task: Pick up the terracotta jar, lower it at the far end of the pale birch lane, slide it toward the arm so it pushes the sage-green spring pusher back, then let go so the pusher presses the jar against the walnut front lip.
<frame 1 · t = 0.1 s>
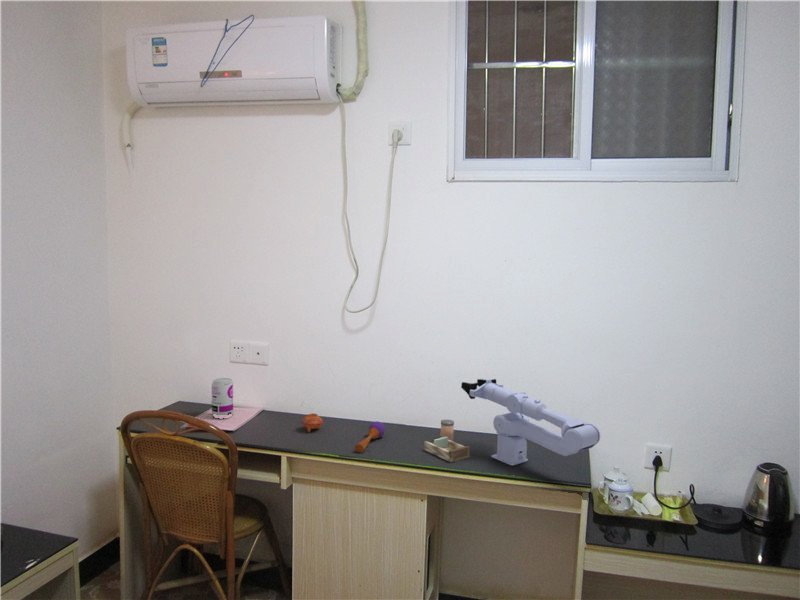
hand: (470, 383, 208), 22 cm above the table, tool horizontal, fingers open, 7 cm apart
jar: (446, 440, 212), on the table
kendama: (369, 444, 208), on the table
supplement can: (222, 417, 234), on the table
lane: (450, 455, 197), on the table
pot: (312, 430, 221), on the table
pusher: (440, 443, 201), point 3 cm above the table, slide at 0.0 cm
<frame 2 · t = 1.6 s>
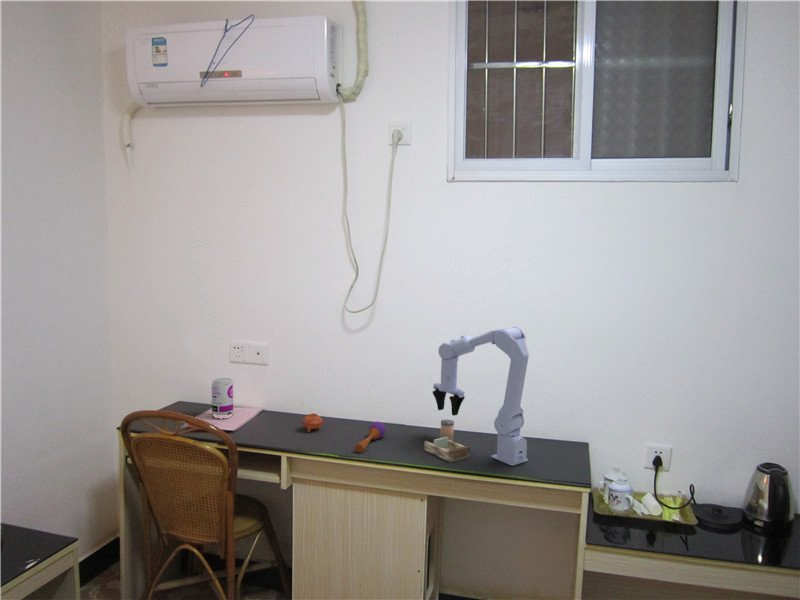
hand: (447, 412, 211), 10 cm above the table, tool pointing down, fingers open, 7 cm apart
nothing on the table moved.
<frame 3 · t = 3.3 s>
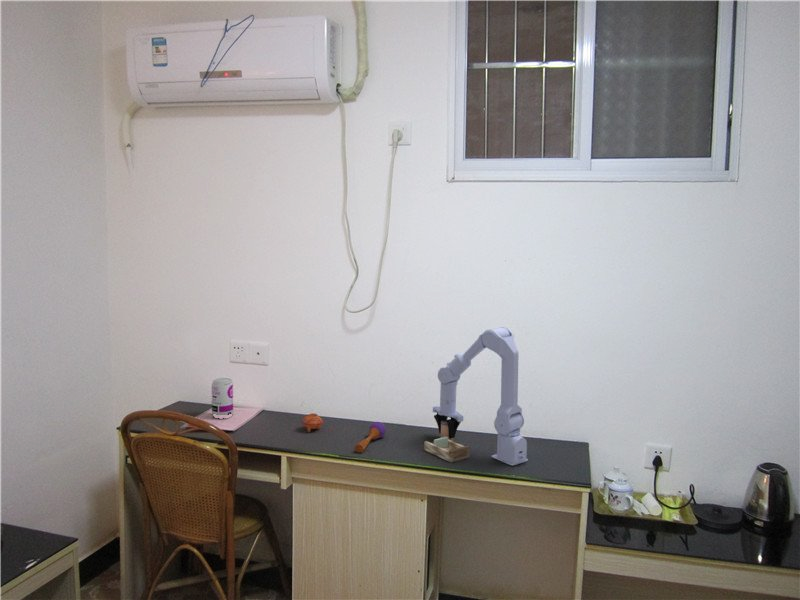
hand: (446, 435, 212), 2 cm above the table, tool pointing down, fingers closed on jar, 5 cm apart
jar: (446, 440, 212), on the table, touching gripper
everything else where it was.
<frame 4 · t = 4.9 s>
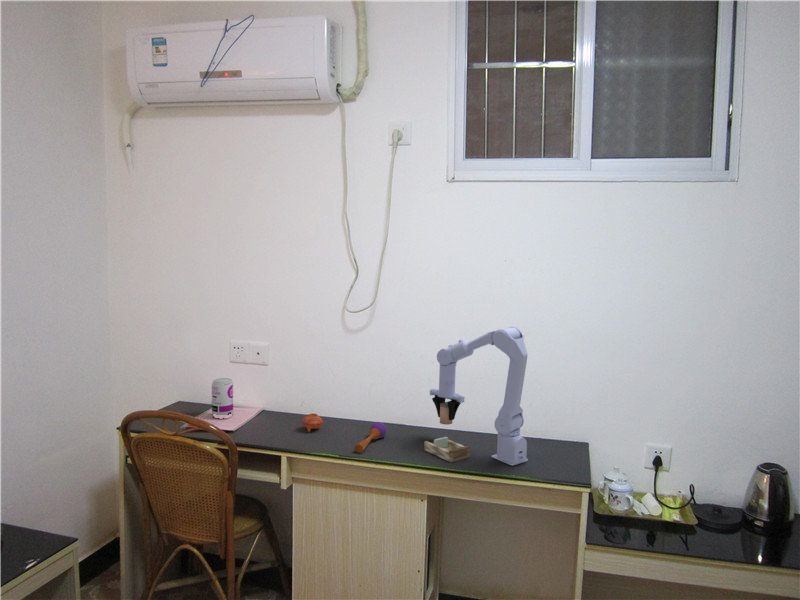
hand: (446, 418, 210), 9 cm above the table, tool pointing down, fingers closed on jar, 5 cm apart
jar: (446, 422, 211), point 7 cm above the table, touching gripper
everything else where it was.
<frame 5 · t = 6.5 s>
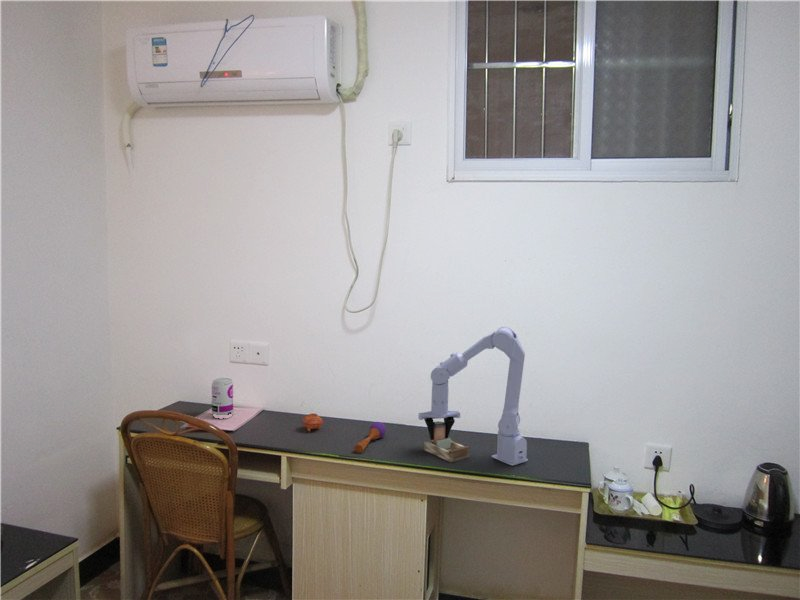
hand: (438, 438, 202), 4 cm above the table, tool pointing down, fingers closed on jar, 5 cm apart
jar: (438, 443, 202), point 2 cm above the table, touching gripper
pusher: (443, 444, 200), point 3 cm above the table, slide at 1.5 cm, touching gripper
everything else where it was.
when the fingers open (4 cm above the table, at t = 8.1 s): jar drops 1 cm, resting on lane.
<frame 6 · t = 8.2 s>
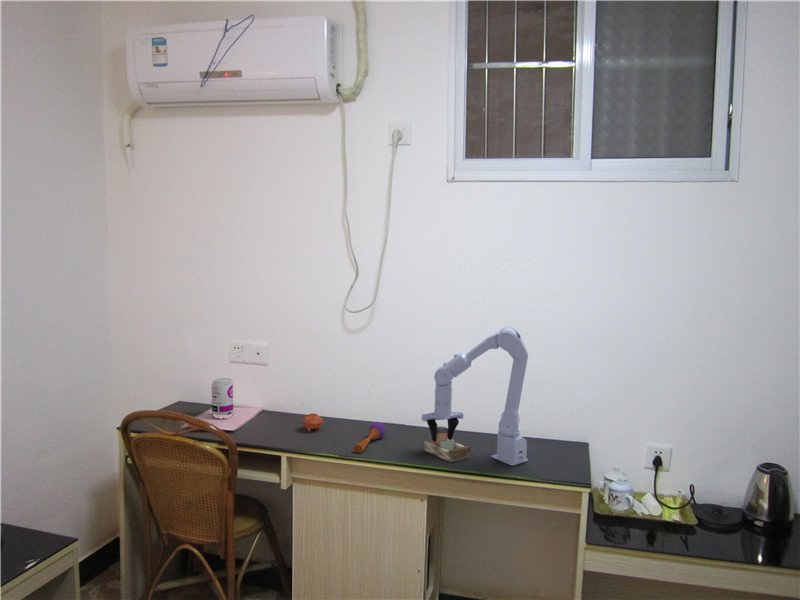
hand: (441, 439, 201), 4 cm above the table, tool pointing down, fingers open, 5 cm apart
jar: (439, 448, 202), point 1 cm above the table, touching gripper, lane
pusher: (447, 445, 199), point 3 cm above the table, slide at 3.1 cm, touching gripper
everything else where it was.
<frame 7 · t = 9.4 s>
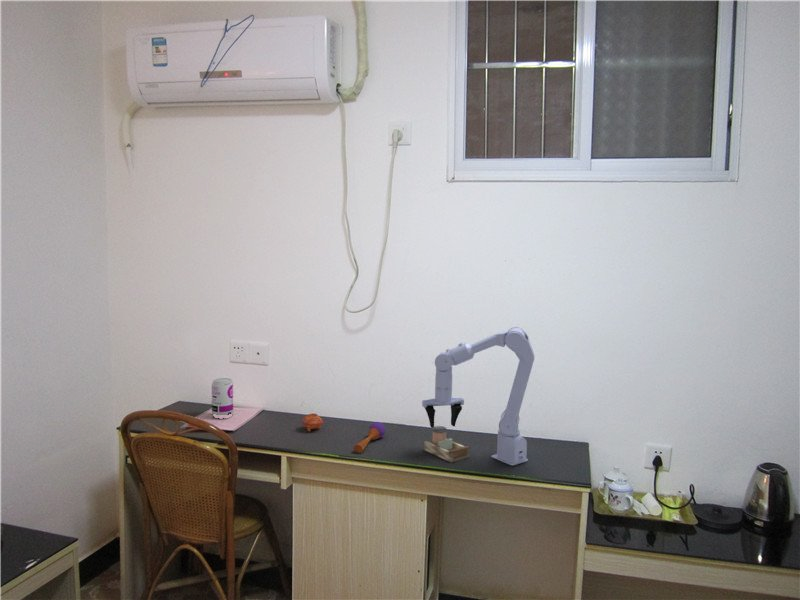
hand: (442, 426, 200), 9 cm above the table, tool pointing down, fingers open, 7 cm apart
jar: (439, 447, 202), point 1 cm above the table, touching lane, pusher
pusher: (445, 445, 199), point 3 cm above the table, slide at 2.2 cm, touching jar
everything else where it was.
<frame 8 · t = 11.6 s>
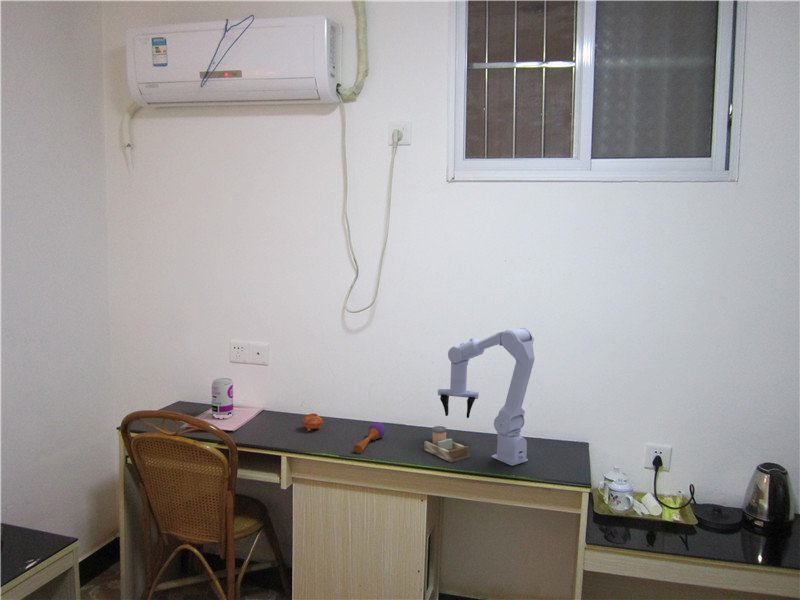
hand: (457, 416, 210), 9 cm above the table, tool pointing down, fingers open, 7 cm apart
nothing on the table moved.
at the end: jar 0.6 cm from the target spot on the lane, point 0.9 cm above the lane's base; pusher slide at 2.2 cm; jar tilted 1° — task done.
